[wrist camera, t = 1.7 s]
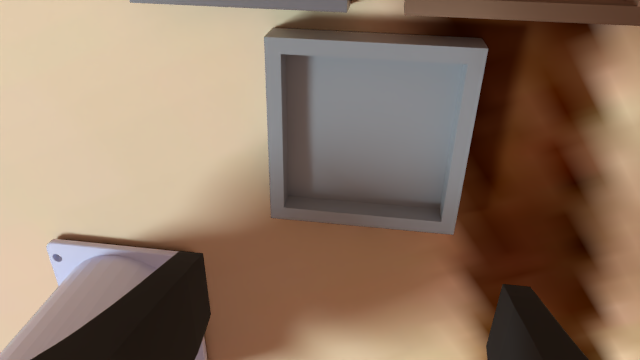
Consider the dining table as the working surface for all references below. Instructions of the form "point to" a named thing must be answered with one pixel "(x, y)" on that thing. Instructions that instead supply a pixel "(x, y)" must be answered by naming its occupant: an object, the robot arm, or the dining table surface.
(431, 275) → the dining table surface
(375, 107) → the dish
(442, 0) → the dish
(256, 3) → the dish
